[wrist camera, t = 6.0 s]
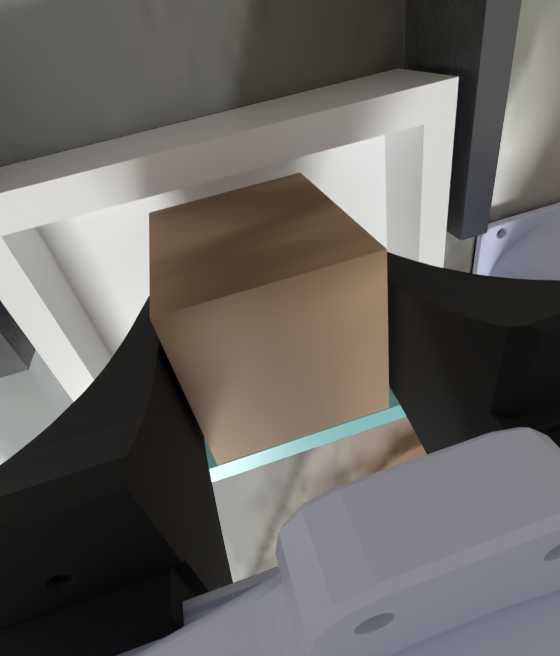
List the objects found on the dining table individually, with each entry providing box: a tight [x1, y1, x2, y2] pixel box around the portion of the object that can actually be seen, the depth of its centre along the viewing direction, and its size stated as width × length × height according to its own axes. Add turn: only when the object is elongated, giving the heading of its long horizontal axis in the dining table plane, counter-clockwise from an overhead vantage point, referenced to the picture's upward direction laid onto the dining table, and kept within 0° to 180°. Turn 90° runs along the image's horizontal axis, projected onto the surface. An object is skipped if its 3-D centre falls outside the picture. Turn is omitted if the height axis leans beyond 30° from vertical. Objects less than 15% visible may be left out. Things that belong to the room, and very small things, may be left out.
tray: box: [0, 69, 459, 482], centre depth 16 cm, size 14×14×4 cm
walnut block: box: [149, 173, 389, 465], centre depth 11 cm, size 4×4×6 cm
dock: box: [0, 0, 521, 378], centre depth 11 cm, size 17×14×4 cm
